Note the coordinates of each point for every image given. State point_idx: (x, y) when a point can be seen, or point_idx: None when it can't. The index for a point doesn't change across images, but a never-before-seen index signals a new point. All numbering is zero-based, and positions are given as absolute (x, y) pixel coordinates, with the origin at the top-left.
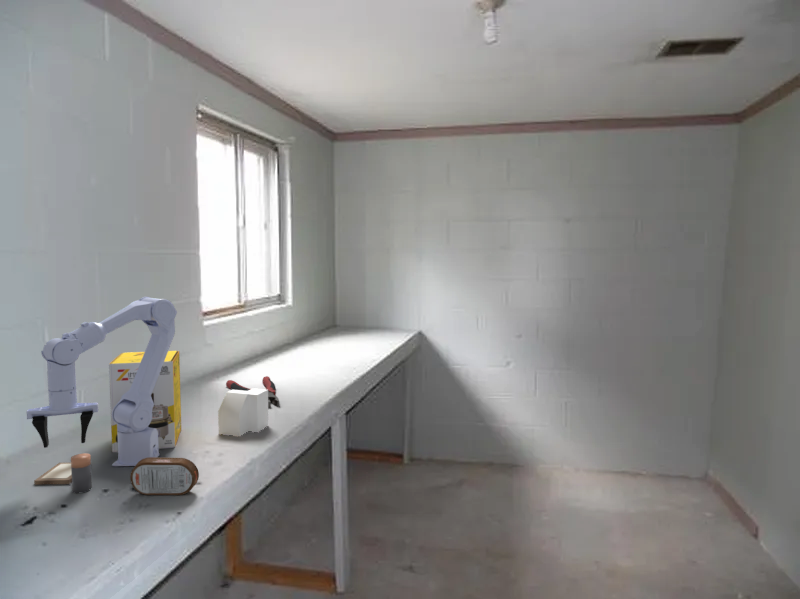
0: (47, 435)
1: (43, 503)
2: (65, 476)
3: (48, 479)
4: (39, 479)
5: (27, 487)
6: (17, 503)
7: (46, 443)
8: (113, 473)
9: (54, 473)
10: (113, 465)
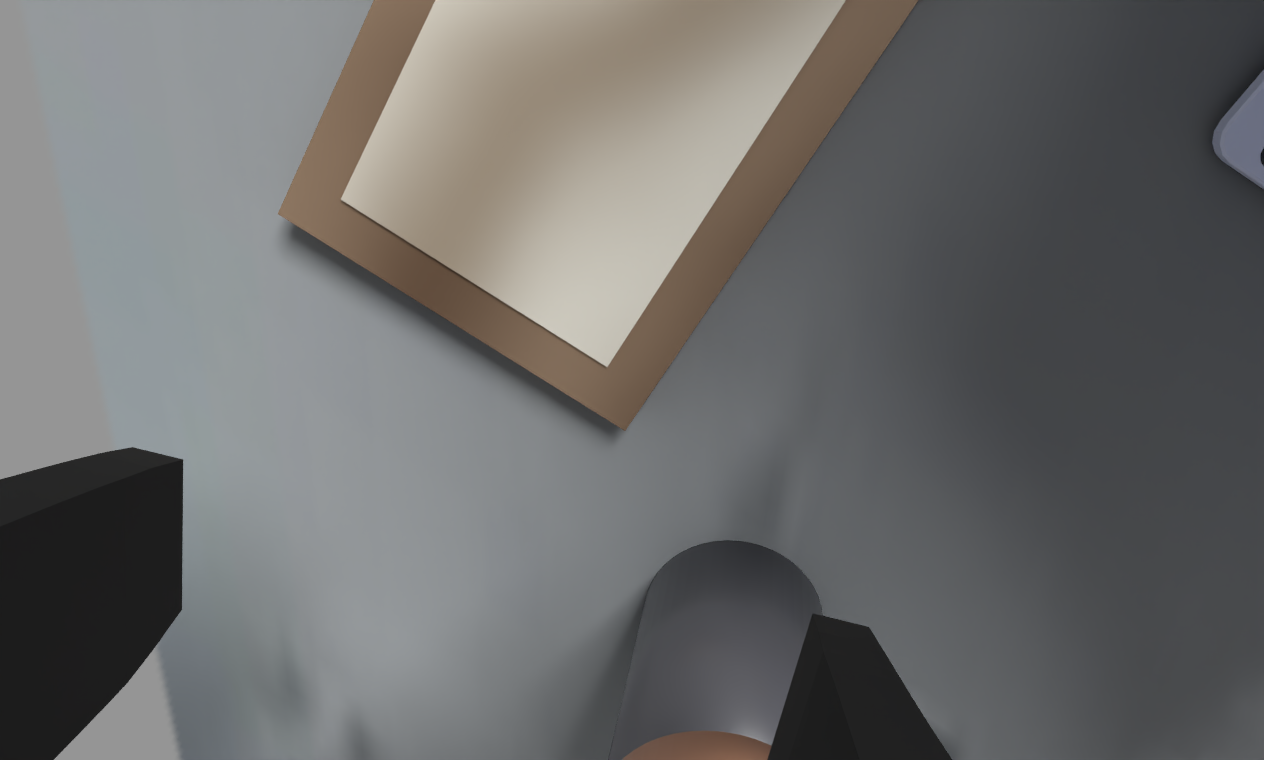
0: (13, 587)
1: (411, 703)
2: (597, 307)
3: (422, 274)
4: (329, 213)
5: (245, 241)
6: (215, 578)
7: (115, 689)
8: (1133, 386)
9: (482, 118)
10: (1228, 164)
